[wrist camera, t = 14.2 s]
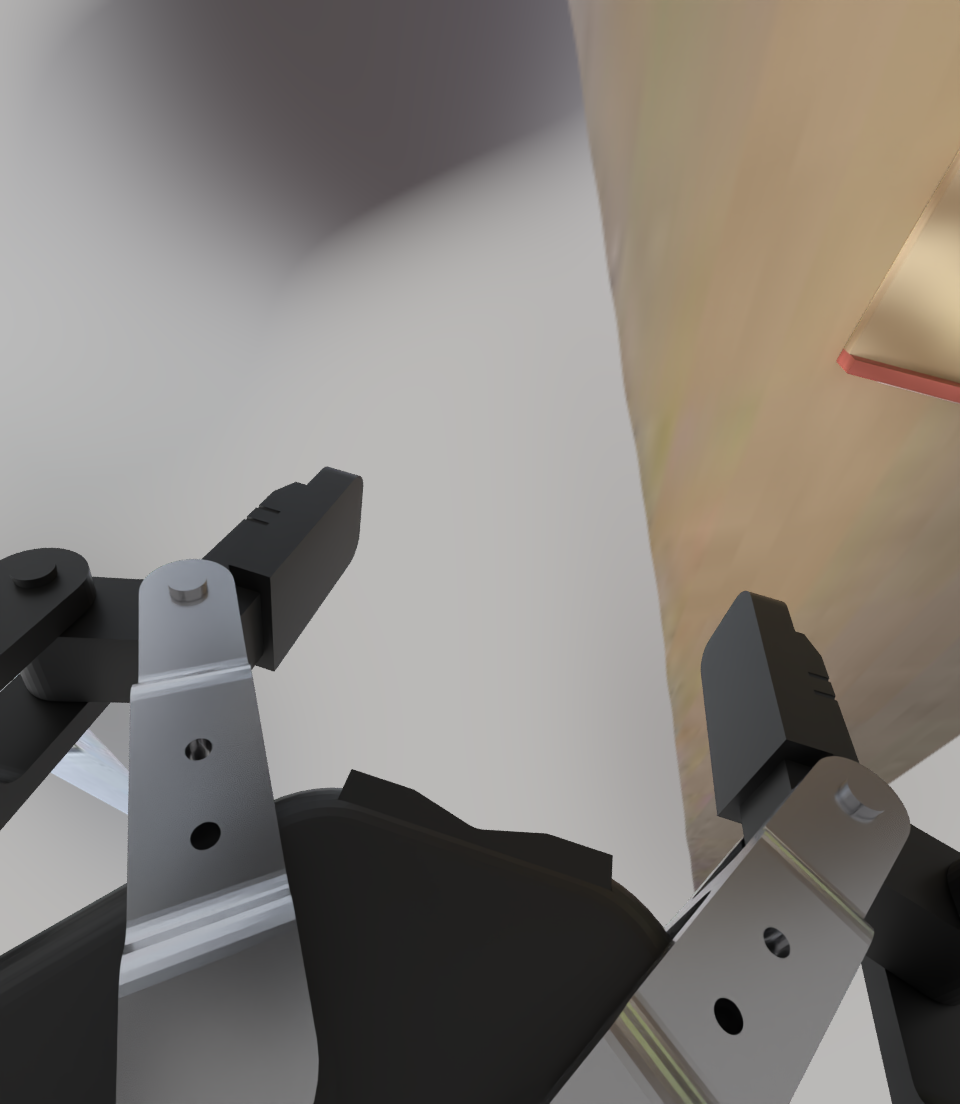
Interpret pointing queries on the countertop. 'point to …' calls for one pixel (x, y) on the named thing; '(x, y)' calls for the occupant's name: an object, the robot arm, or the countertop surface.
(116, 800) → the countertop surface
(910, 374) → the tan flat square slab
